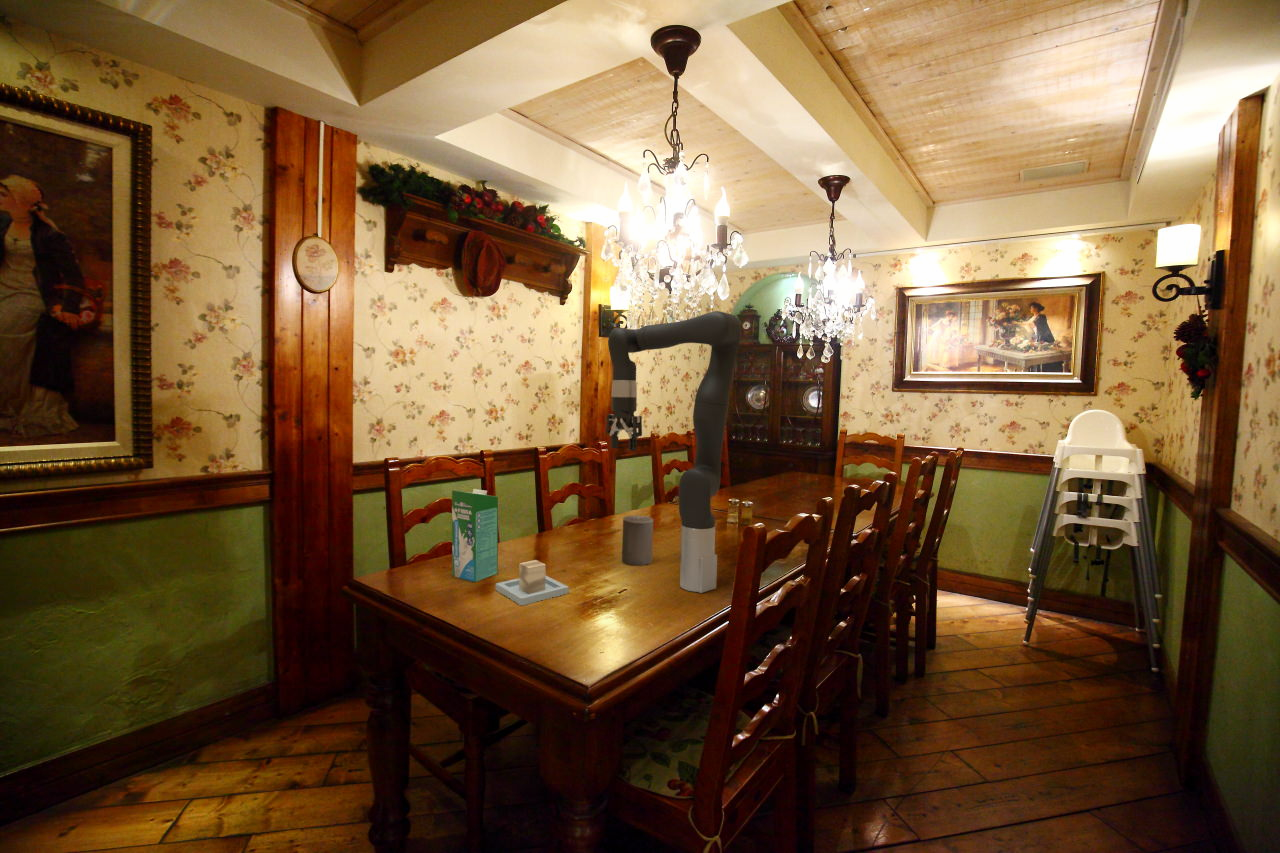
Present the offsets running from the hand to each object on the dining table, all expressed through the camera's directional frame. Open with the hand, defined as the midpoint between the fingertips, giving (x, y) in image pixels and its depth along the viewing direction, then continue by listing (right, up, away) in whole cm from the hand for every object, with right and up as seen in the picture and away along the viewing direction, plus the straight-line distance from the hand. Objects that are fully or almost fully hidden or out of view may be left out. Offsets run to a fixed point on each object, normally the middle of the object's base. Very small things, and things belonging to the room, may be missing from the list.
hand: (623, 449), depth 172 cm
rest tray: (-24, -37, -20) cm, 48 cm away
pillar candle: (+4, -36, +9) cm, 37 cm away
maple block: (-24, -37, -20) cm, 48 cm away
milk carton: (-43, -36, -7) cm, 56 cm away
